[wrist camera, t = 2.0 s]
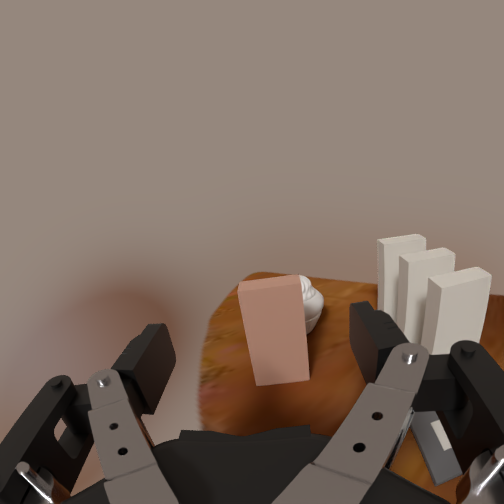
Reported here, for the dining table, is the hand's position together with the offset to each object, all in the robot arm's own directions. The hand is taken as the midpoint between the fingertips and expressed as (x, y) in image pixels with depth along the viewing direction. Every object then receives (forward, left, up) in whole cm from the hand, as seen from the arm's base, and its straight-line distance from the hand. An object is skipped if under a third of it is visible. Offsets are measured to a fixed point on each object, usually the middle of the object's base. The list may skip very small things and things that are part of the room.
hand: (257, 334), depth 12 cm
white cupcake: (+8, -19, -12) cm, 24 cm away
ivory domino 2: (-7, -17, -12) cm, 22 cm away
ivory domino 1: (-4, -21, -12) cm, 25 cm away
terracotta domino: (+5, -10, -12) cm, 17 cm away
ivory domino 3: (-10, -12, -12) cm, 19 cm away
